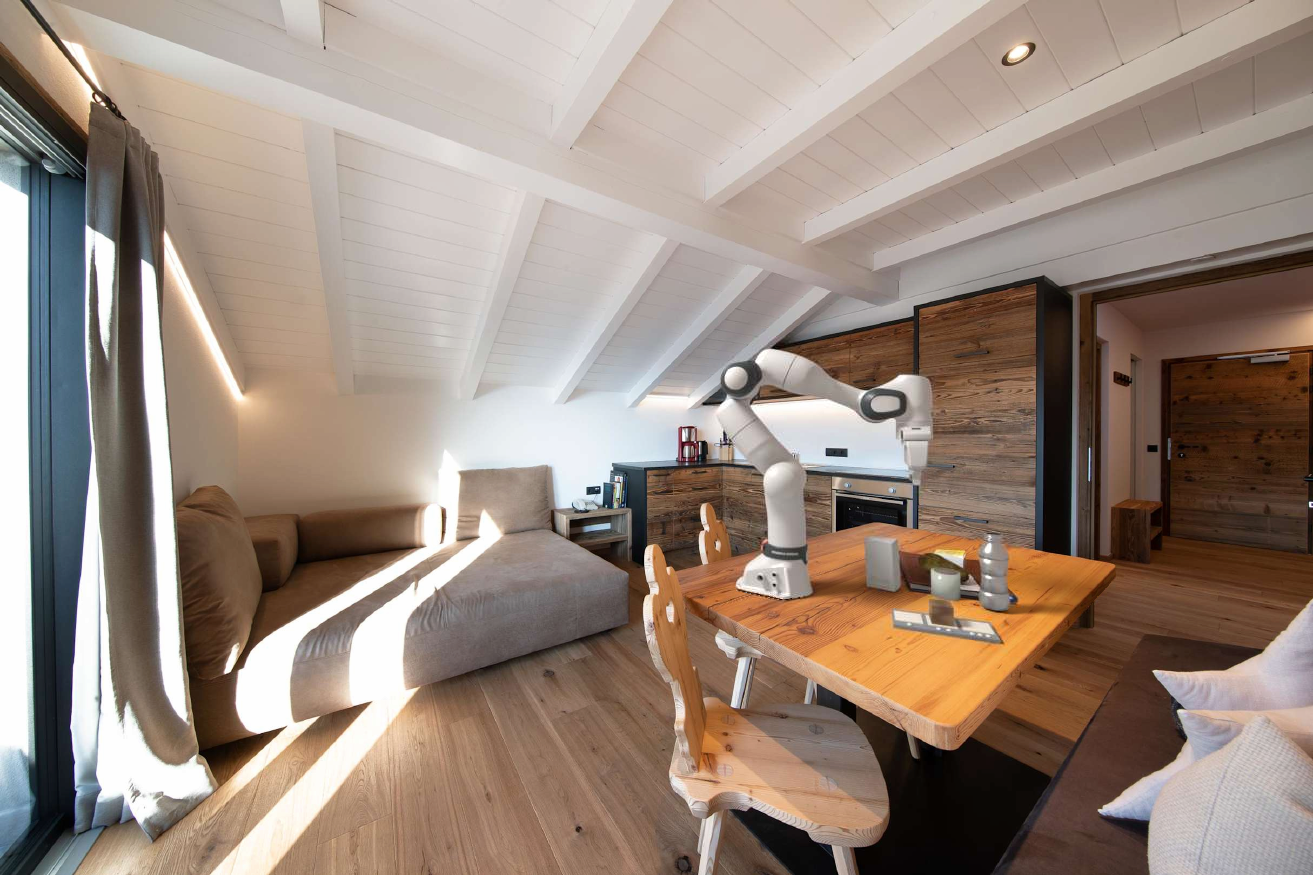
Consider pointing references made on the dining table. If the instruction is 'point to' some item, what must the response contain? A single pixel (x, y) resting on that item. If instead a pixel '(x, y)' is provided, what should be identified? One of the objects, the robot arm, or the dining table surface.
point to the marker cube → (941, 612)
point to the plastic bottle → (993, 573)
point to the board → (960, 629)
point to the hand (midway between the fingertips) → (914, 482)
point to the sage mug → (945, 584)
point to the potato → (941, 565)
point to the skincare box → (882, 563)
